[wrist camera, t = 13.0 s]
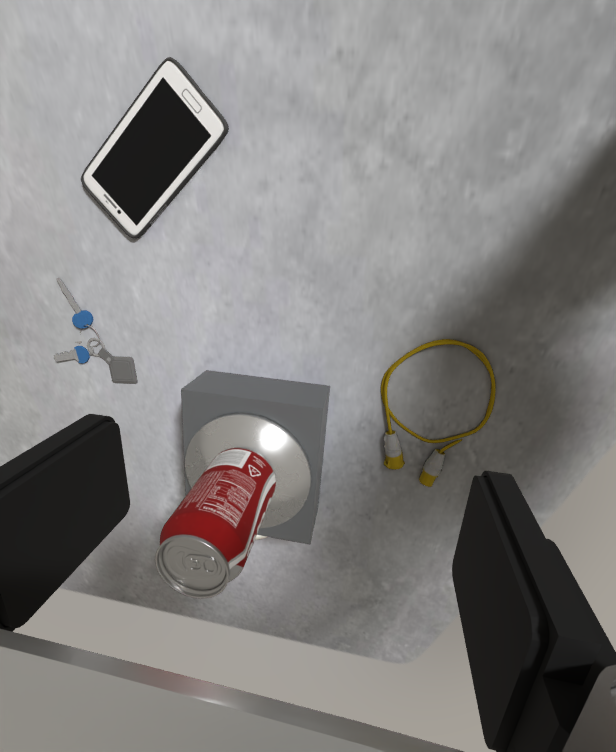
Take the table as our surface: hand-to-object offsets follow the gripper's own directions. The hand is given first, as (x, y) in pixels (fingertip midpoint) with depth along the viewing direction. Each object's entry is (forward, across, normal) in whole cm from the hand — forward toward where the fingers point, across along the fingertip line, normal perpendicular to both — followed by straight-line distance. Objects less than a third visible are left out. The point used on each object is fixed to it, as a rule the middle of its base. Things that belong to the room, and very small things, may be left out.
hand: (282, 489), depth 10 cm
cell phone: (+30, +21, -12) cm, 39 cm away
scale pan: (+23, +9, +17) cm, 30 cm away
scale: (+29, +9, +17) cm, 35 cm away
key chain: (+30, +31, +8) cm, 44 cm away
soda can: (+23, +9, +17) cm, 30 cm away
